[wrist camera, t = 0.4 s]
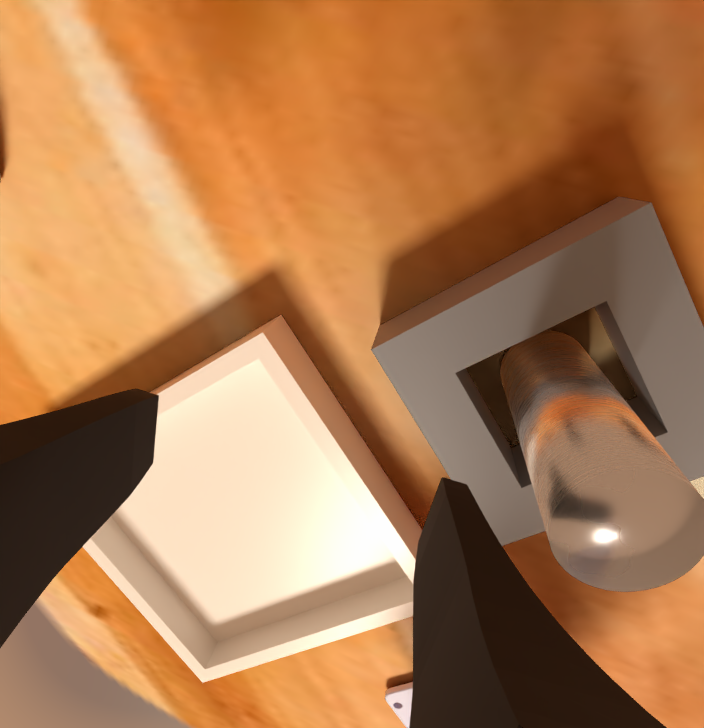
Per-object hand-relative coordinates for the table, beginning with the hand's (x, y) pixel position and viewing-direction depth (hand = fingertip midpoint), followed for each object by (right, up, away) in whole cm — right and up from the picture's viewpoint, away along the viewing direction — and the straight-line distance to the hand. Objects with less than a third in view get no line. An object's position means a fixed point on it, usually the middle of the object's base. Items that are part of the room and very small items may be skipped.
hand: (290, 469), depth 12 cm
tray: (-4, -5, +14) cm, 15 cm away
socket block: (+9, +2, +9) cm, 13 cm away
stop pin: (+9, +2, +9) cm, 13 cm away
